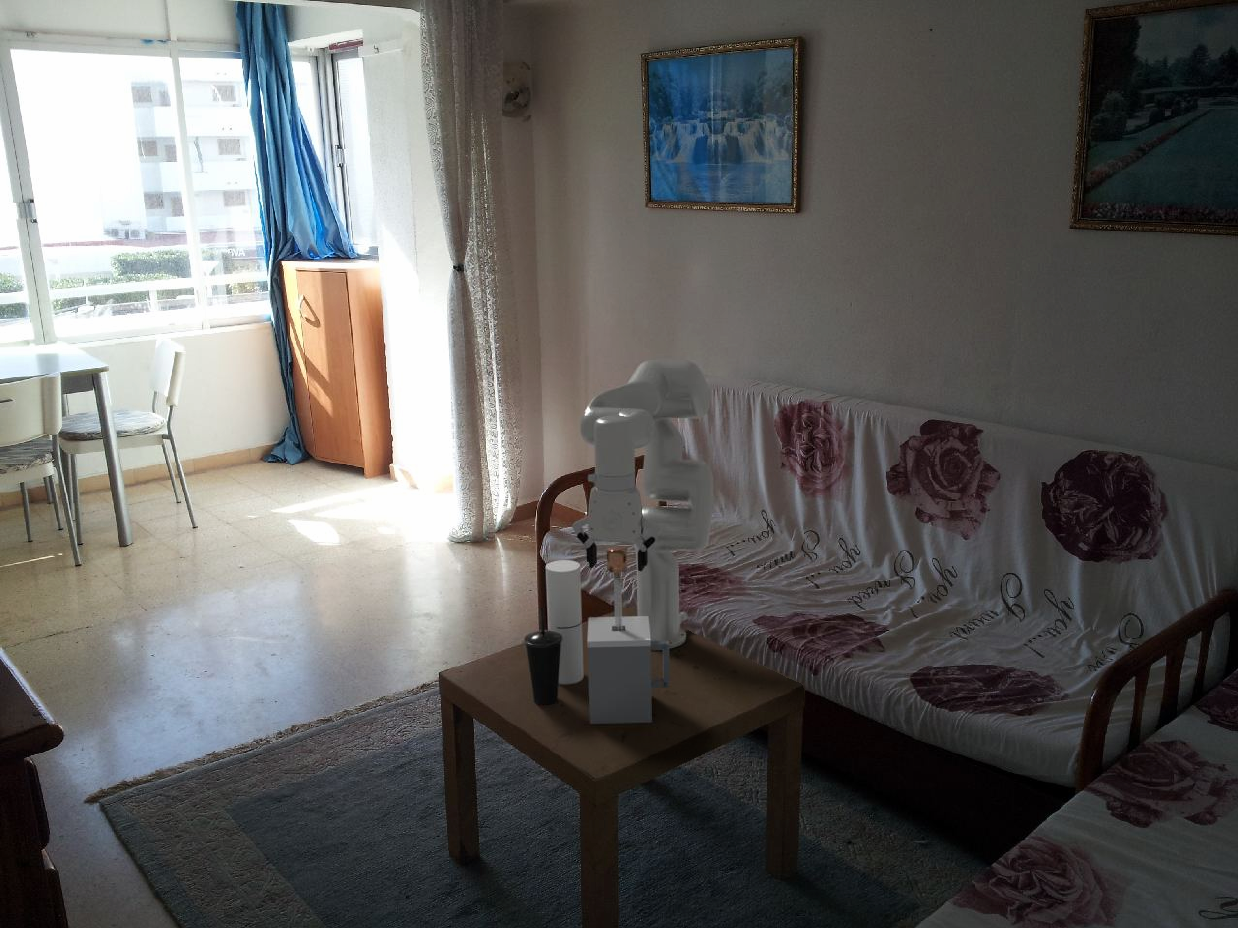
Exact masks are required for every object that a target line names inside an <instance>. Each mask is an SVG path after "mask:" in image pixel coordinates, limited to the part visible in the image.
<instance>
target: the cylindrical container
mask: <svg viewBox="0 0 1238 928" xmlns="http://www.w3.org/2000/svg"><path fill="white" fill-rule="evenodd" d="M545 585H546V587H545V588H546V607H547V608H546V609H547V630H550V631H554V632H557V633H559V634H561V635H562V642H561V650H560V668H559V685H572V684H577V683H579V682H581V681H582V680H583V679H584V677H585V676H584V674H585V673H584V651H583V650H584V649H583V645H584V644H583V619H582V618H583V617H582V615H583V614H582V612H583V611H582V590H581V589H582V585H581V564H580V563H579V562H577V561H575V560H571V559H570V560H568V559H567V560H565V559H562V560H554V561H551V562H549V563H547V564H546V565H545Z"/></svg>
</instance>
